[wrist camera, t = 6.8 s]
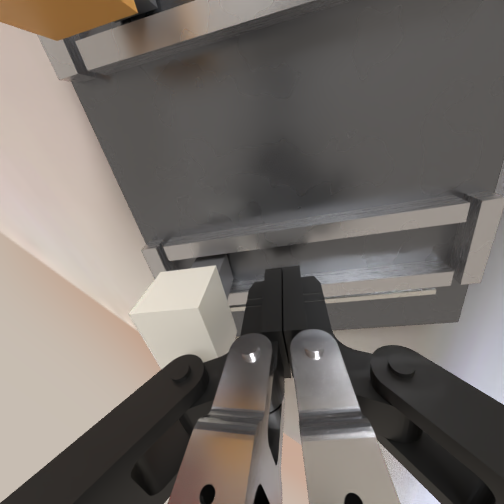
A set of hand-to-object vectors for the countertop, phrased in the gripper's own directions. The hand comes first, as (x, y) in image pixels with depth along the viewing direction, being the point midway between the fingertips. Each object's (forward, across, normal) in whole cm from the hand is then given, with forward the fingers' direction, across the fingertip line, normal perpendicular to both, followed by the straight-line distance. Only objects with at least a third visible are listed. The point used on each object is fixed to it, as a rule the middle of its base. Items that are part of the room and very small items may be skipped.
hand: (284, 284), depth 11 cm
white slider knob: (+2, +4, 0) cm, 4 cm away
